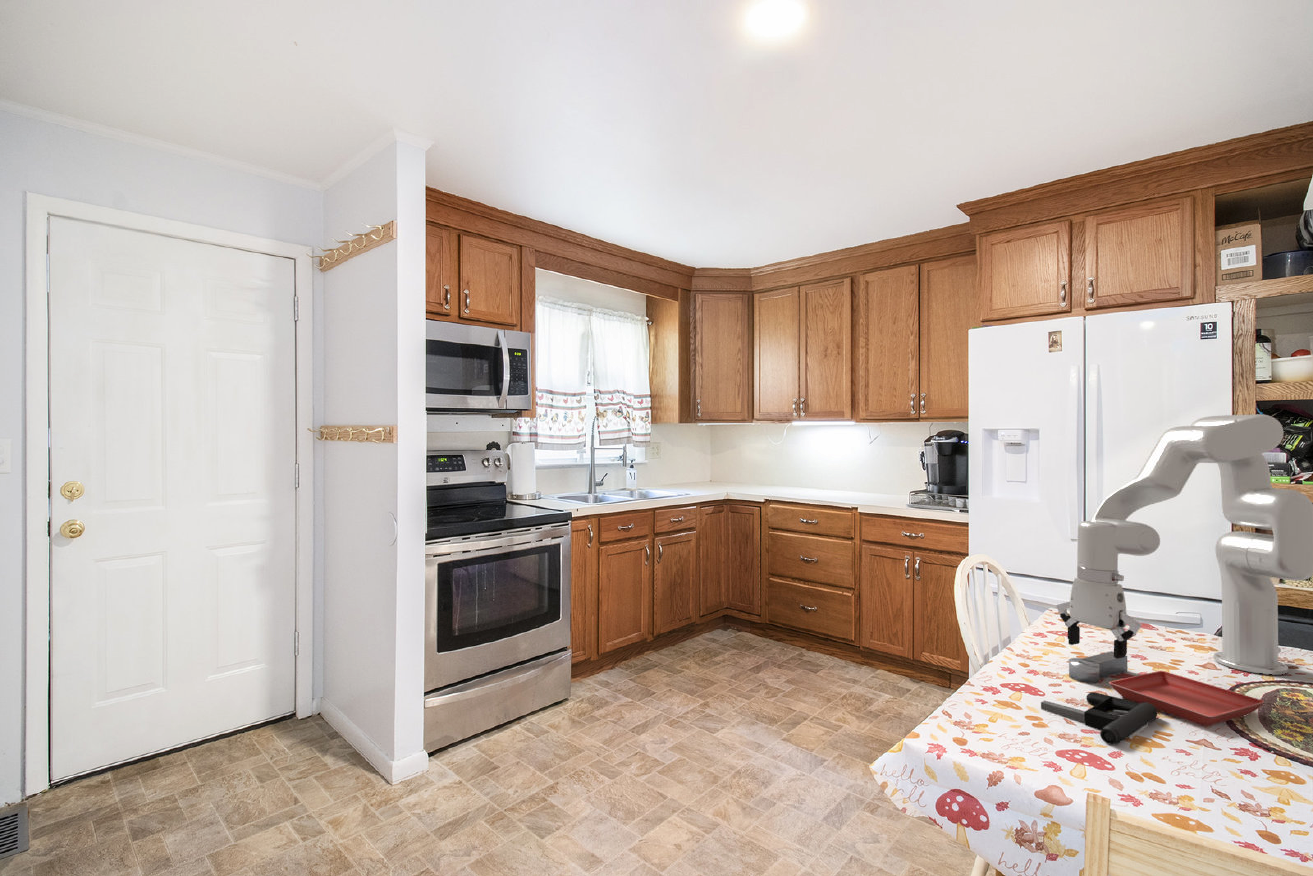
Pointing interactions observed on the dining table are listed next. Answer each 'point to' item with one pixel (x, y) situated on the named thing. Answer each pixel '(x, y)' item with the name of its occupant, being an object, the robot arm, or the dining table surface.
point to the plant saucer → (1186, 697)
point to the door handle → (1109, 716)
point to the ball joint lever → (1096, 667)
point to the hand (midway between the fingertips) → (1096, 650)
